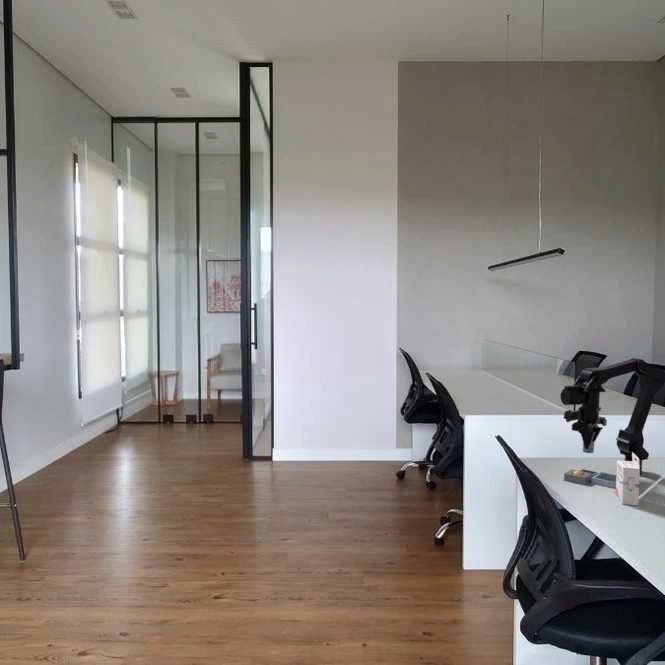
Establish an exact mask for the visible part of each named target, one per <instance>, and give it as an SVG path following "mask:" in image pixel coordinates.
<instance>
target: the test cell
mask: <svg viewBox="0 0 665 665" xmlns="http://www.w3.org/2000/svg"><path fill="white" fill-rule="evenodd" d="M582 452H583V453H586V454H594V452H595V442H594V441H593V440H592V441H591V444H590V446H589V448H588V449H585V447H584V443H583V442H582Z"/></svg>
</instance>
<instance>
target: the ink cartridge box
mask: <svg viewBox="0 0 665 665" xmlns="http://www.w3.org/2000/svg"><path fill="white" fill-rule="evenodd" d="M635 458H636V460H637V462H636V460H635ZM616 475H617V476H616V489H615V496H616V497H617V498H618V501H619V502H620V503H621V505H627V506H639V501H640V500H639V498H640V477H641V476H640V463H639V458H638V457H637V456H636V455H635V454H634V453H633V452H632V461H625V460H617V461H616Z"/></svg>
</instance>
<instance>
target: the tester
mask: <svg viewBox="0 0 665 665" xmlns="http://www.w3.org/2000/svg"><path fill="white" fill-rule="evenodd" d="M574 471H581V472H583V475H582V476H581V475H576V474H574ZM598 473H599V472H598V471H594V470H590V469H585V468H583V469H582V468H581V469H580V470H577V469H570V470H568V471H567V472H565V473H563V481H565V482H570V483H574V484H579V485H583V486H588V485H589V484H590V483H591V478H592V477H594V476H595V475H597V474H598Z"/></svg>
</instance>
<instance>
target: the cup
mask: <svg viewBox="0 0 665 665" xmlns="http://www.w3.org/2000/svg"><path fill="white" fill-rule="evenodd" d="M616 476H617V474H612V473H607V472H603V471H600V472H598V474H597V475H595V476H594V477H592V478H591V485H592V484H593V485H597V486H601V487H606V488H609V489H610V488H611V489H614V490H616Z"/></svg>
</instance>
